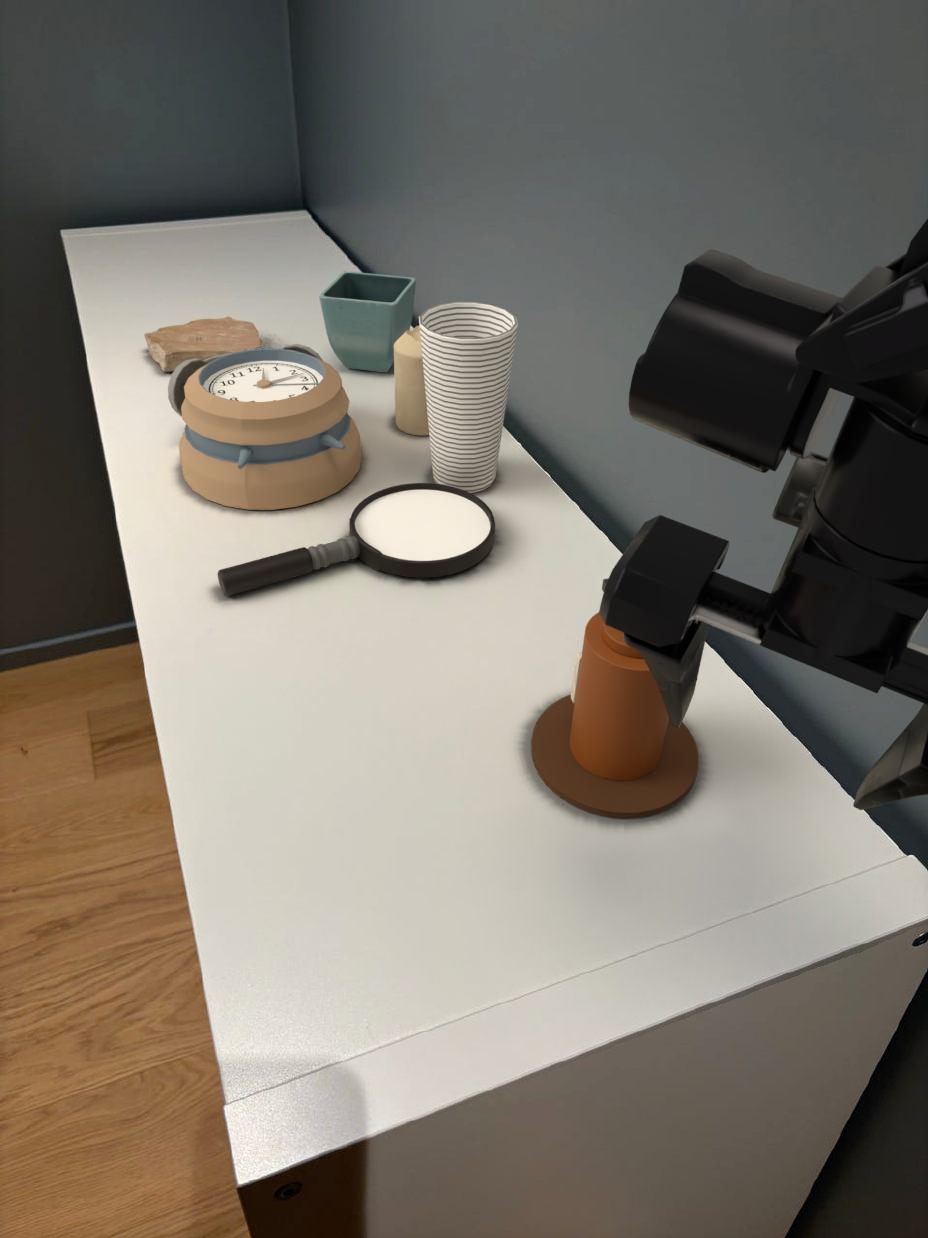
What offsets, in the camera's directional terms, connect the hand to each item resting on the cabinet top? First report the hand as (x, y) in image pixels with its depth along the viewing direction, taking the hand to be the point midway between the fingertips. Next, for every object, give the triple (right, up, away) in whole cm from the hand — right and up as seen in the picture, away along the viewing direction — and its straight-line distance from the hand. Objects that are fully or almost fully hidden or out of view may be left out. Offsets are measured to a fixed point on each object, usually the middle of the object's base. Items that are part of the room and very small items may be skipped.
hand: (765, 759), depth 46 cm
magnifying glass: (-24, +12, +33) cm, 42 cm away
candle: (-19, +27, +51) cm, 61 cm away
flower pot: (-26, +37, +62) cm, 77 cm away
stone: (-44, +37, +62) cm, 85 cm away
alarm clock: (-35, +24, +46) cm, 62 cm away
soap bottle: (-5, -1, +15) cm, 16 cm away
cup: (-15, +20, +43) cm, 50 cm away
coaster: (-5, -2, +16) cm, 17 cm away
